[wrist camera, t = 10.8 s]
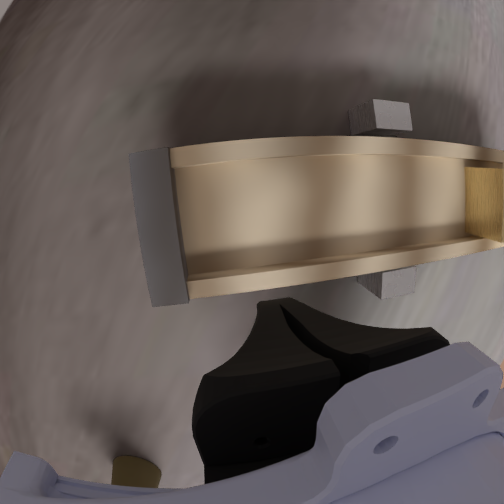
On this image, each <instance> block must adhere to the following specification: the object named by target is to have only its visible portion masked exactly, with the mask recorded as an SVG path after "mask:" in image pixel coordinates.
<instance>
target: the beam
mask: <svg viewBox="0 0 504 504" xmlns="http://www.w3.org/2000/svg"><path fill="white" fill-rule="evenodd" d="M129 162H130V173H131V182H132V191H133V199H134V207H135V214H136V221H137V228H138V234H139V240H140V246H141V252H142V258H143V263H144V268H145V274H146V279H147V284H148V288H149V293H150V298H151V302H152V307H158V306H167V305H177V304H186V303H189V300H190V299H193V298H202V297H211V296H219V295H227V294H235V293H243V292H250V291H258V290H265V289H272V288H279V287H286V286H293V285H300V284H307V283H313V282H320V281H326V280H332V279H339V278H345V277H351V276H357V275H363V274H369V273H374V272H380V271H386V270H391V269H397V268H402V267H407V266H413V265H418V264H423V263H428V262H433V261H439V260H443V259H448V258H453V257H458V256H463V255H468V254H472V253H477V252H481V251H486V250H490V249H495V248H499V247H504V242H503V243H500V242H497V241H493V240H490V239H487V238H483V237H480V236H477V235H473V234H470V233H466V232H465V172H464V167H475V168H498V169H504V151H502V150H496V149H491V148H485V147H479V146H472V145H465V144H458V143H449V142H441V141H431V140H420V139H408V138H397V136H381V137H371V136H298V137H275V138H259V139H246V140H234V141H224V142H215V143H206V144H198V145H190V146H183V147H176V148H168V147H165V148H159V149H153V150H147V151H141V152H136V153H131V154H129Z"/></svg>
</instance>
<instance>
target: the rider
mask: <svg viewBox="0 0 504 504" xmlns="http://www.w3.org/2000/svg"><path fill="white" fill-rule="evenodd" d="M464 172H465V232H466V233H470V234H473V235H477V236H480V237H483V238H487V239H490V240H493V241H497V242H500V243H503V242H504V169H498V168H475V167H464Z"/></svg>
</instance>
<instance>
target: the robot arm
mask: <svg viewBox="0 0 504 504" xmlns="http://www.w3.org/2000/svg"><path fill="white" fill-rule="evenodd" d="M502 379H503V372H502V370H501V368H500V366H499V365H498V364H497V363H496V362H494V361H493V360H492V359H491V358H489V357H488V356H487V355H485V354H484V353H483V352H481V351H480V350H479V349H478V348H476V347H475V346H474V345H472V344H471V343H470V342H459V343H454V344H451V345H450V344H449V342H448V340H447V339H445V338H444V337H443V336H442V335H440V334H439V333H438V332H437V331H435V330H434V329H433V328H432V327H426V328H411V329H394V328H379V327H372V326H365V325H360V324H355V323H351V322H348V321H344V320H341V319H338V318H335V317H332V316H329V315H327V314H324V313H322V312H320V311H318V310H315V309H313V308H311V307H309V306H307V305H305V304H303V303H301V302H299V301H297V300H295V299H293V298H290V297H289V298H282V299H275V300H268V301H261V302H259V303H258V304H257V317H256V320H255V323H254V326H253V328H252V330H251V333H250V335H249V336H248V338H247V340H246V341H245V343H244V344H243V346H242V347H241V348H240V349H239V351H238V352H237V353H236V354H235V355H234V356H233V357H232V358H231V359H229V360H228V361H227V362H225V363H224V364H223V365H221V366H219V367H218V368H216V369H214V370H212V371H211V372H209V373H207V374H205V375H204V376H203V378H202V380H201V383H200V385H199V388H198V391H197V395H196V398H195V402H194V407H193V415H192V431H193V437H194V440H195V443H196V445H197V448H198V451H199V453H200V456H201V459H202V461H203V464H204V476H205V484H204V485H199V486H195V487H190V488H185V489H167V488H143V487H129V486H119V485H110V484H103V483H96V482H90V481H84V480H78V479H73V478H68V477H64V476H59V475H58V474H57V473H56V471H55V470H54V469H53V467H52V466H51V465H50V464H49V463H48V462H46V461H45V460H43V459H42V458H39V457H36V456H32V455H28V454H25V453H21V452H18V451H14V452H13V454H12V456H11V458H10V460H9V461H8V463H7V465H6V467H5V469H4V471H3V473H2V476H1V478H0V504H504V388H502V389H500V387H501V383H502Z"/></svg>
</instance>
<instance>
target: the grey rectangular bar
mask: <svg viewBox="0 0 504 504" xmlns="http://www.w3.org/2000/svg"><path fill="white" fill-rule="evenodd" d="M348 113H349V121H350V130H351V136H389V135H394V134H399V133H404V132H409V131H413V130H412V122H411V115H410V108H409V103H403V102H396V101H387V100H378V99H372V100H370V101H367V102H365V103H363V104H361V105H359V106H357V107H355V108H352V109H350V110H348ZM415 277H416V266H414V265H413V266H407V267H402V268H397V269H391V270H386V271H380V272H374V273H369V274H363V275H358V283H360V284H361V285H362V286H364V287H365V288H366V289H368V290H369V291H370V292H372V293H373V294H374V295H376V296H377V297H378V298H379V299H381V300H383V299H387V298H392V297H396V296H401V295H405V294H410V293H414V289H415Z"/></svg>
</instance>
